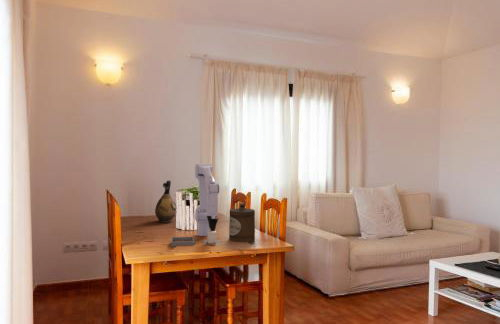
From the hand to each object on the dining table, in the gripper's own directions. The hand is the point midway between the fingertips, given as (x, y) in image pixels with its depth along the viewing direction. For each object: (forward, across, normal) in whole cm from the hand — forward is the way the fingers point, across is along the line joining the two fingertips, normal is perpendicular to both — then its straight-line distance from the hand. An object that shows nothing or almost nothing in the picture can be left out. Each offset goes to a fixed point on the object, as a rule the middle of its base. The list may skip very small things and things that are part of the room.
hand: (212, 229), depth 220 cm
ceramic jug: (+8, -78, -26) cm, 83 cm away
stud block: (+8, 0, 0) cm, 8 cm away
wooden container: (+8, -6, +18) cm, 21 cm away
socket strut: (+7, 0, 0) cm, 7 cm away
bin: (+8, -1, -16) cm, 18 cm away
